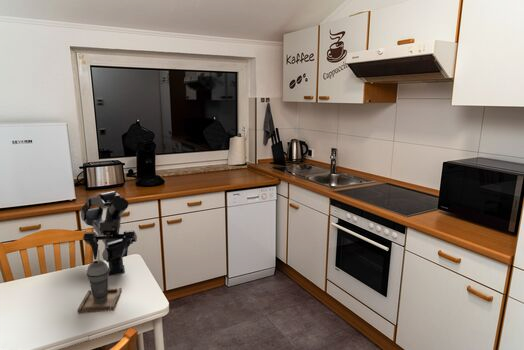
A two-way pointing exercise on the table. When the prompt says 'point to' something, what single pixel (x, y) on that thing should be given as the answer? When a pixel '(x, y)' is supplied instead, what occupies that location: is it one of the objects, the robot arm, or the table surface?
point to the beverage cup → (98, 280)
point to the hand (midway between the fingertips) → (108, 258)
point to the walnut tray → (109, 305)
